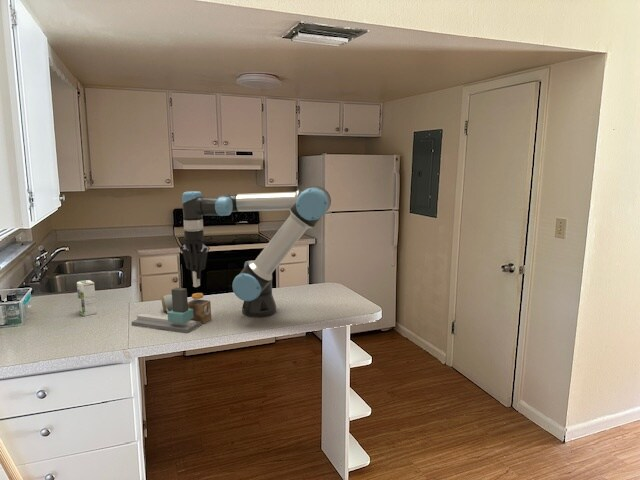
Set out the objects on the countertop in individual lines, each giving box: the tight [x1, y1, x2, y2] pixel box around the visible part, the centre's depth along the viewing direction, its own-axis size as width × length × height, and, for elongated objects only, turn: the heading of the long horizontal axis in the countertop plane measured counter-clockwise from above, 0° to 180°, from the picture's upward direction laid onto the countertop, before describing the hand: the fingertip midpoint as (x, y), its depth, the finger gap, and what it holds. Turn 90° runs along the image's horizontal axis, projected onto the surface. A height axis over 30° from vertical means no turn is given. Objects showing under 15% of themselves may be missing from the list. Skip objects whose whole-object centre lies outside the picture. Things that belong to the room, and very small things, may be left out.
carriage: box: [167, 287, 194, 324], centre depth 176 cm, size 7×7×13 cm
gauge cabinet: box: [188, 299, 212, 325], centre depth 185 cm, size 9×6×8 cm
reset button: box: [191, 292, 204, 300], centre depth 184 cm, size 4×4×1 cm
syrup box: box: [76, 279, 98, 317], centre depth 194 cm, size 6×6×14 cm
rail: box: [131, 313, 202, 334], centre depth 180 cm, size 27×9×3 cm, turn 70°
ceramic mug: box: [161, 293, 173, 314], centre depth 197 cm, size 11×8×8 cm
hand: (196, 286), depth 183 cm, fingers closed
